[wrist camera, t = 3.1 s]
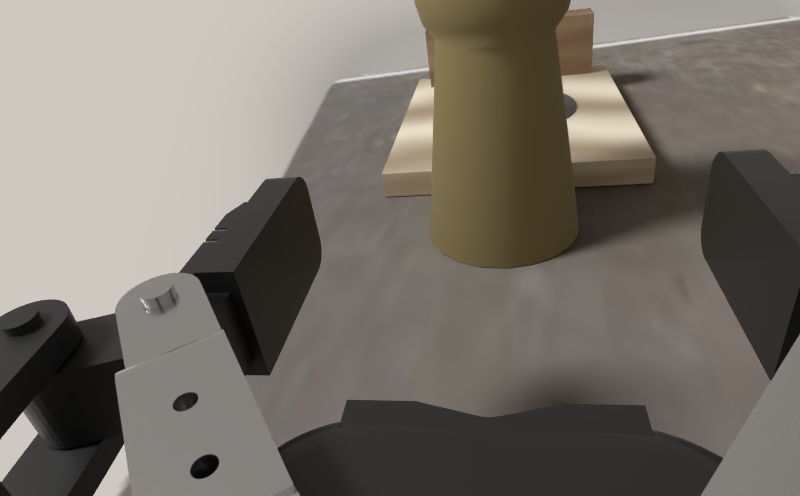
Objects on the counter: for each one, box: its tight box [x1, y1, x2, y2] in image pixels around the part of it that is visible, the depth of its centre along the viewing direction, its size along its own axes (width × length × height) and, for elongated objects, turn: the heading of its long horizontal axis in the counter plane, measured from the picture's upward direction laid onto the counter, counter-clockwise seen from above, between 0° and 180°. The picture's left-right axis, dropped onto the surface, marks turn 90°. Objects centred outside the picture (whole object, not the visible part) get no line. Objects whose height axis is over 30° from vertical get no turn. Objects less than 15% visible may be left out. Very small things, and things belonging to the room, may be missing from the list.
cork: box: [415, 0, 579, 268], centre depth 21 cm, size 6×6×11 cm
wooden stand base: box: [382, 8, 656, 197], centre depth 31 cm, size 15×12×5 cm
